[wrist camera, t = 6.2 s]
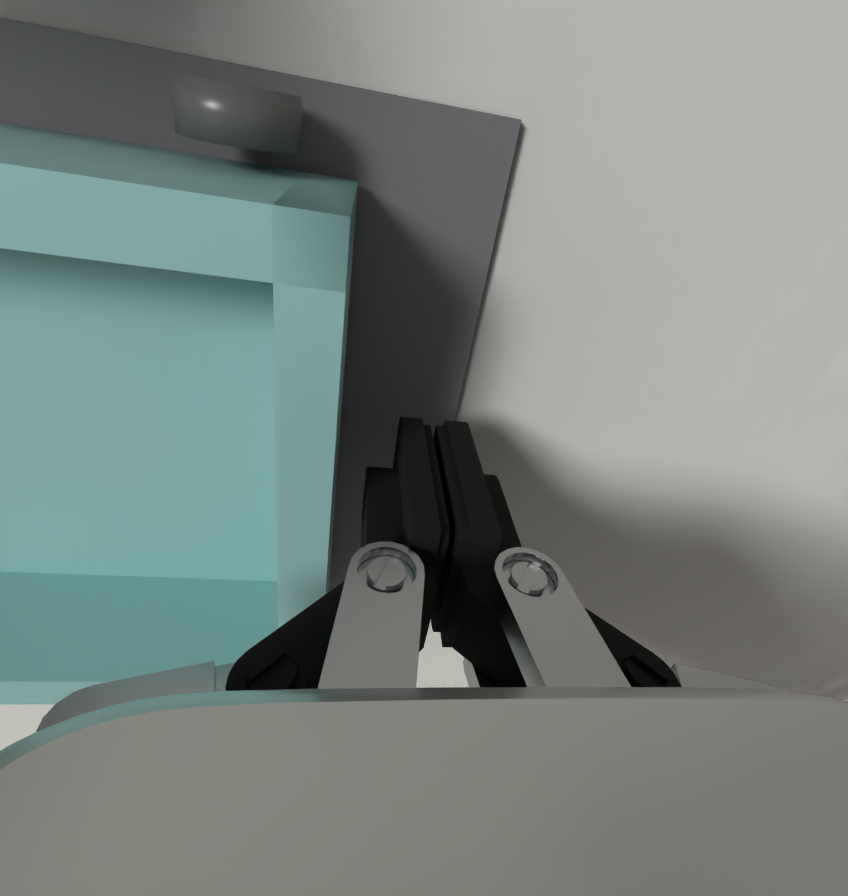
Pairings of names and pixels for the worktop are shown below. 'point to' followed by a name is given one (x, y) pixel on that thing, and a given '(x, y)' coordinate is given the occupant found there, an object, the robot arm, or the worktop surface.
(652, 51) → the worktop surface
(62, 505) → the teal open tray
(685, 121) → the worktop surface
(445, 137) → the mat
